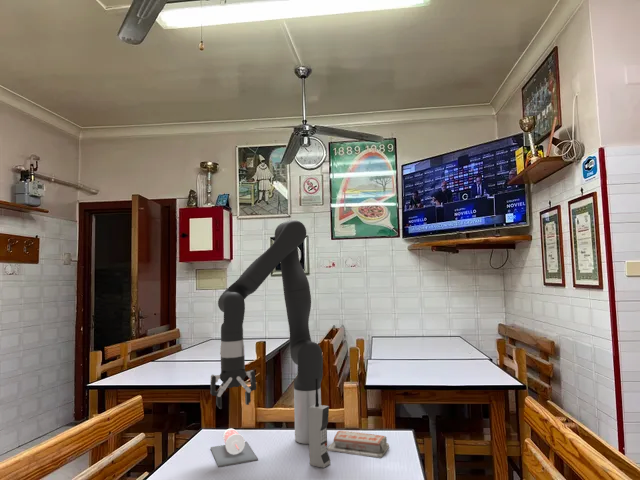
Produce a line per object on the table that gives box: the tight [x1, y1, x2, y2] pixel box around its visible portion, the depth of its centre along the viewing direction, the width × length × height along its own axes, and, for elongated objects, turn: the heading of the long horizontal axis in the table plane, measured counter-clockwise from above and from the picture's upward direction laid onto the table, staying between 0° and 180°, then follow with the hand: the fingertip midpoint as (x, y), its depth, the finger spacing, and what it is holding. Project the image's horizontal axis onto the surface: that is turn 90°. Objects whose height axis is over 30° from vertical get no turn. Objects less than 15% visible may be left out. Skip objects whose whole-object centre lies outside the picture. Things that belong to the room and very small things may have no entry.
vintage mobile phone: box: [308, 378, 331, 469], centre depth 134 cm, size 4×5×25 cm
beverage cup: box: [222, 428, 246, 455], centre depth 143 cm, size 6×6×14 cm
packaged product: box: [327, 430, 390, 459], centre depth 145 cm, size 18×5×10 cm
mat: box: [210, 441, 259, 468], centre depth 143 cm, size 12×16×1 cm
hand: (234, 406), depth 143 cm, fingers open, 8 cm apart
